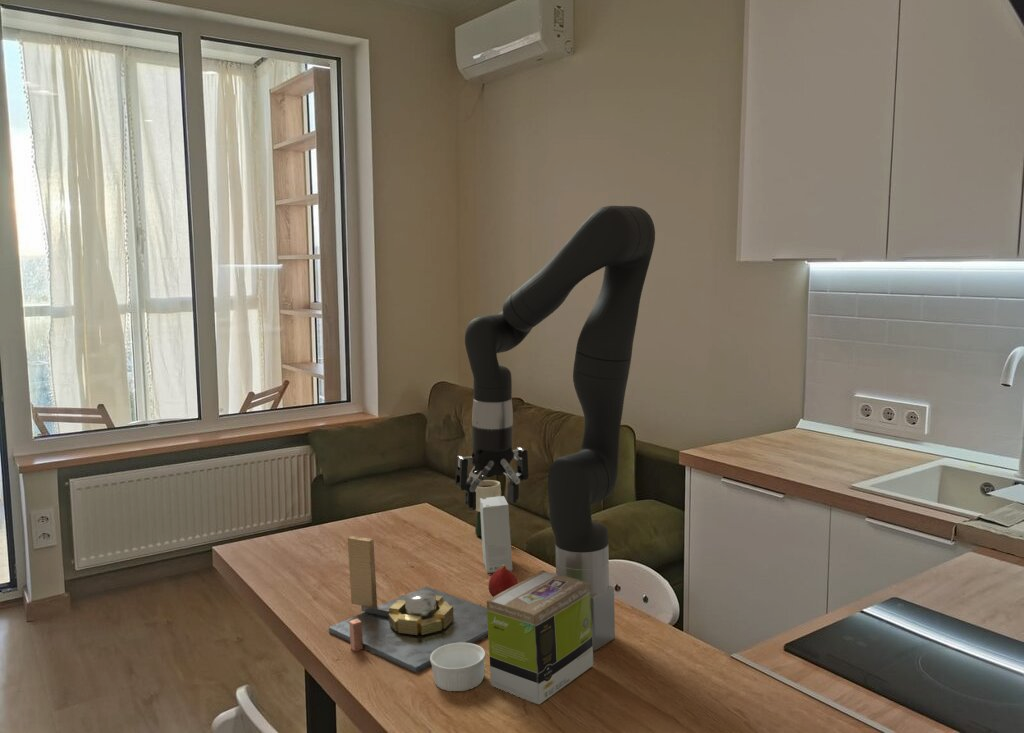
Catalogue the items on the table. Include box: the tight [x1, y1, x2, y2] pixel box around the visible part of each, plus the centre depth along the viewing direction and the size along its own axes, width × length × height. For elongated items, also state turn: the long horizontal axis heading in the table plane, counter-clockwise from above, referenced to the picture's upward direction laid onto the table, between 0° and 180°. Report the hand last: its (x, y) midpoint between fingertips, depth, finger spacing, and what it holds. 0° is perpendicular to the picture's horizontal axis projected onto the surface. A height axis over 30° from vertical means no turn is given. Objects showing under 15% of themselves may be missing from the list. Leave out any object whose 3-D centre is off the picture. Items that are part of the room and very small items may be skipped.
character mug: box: [474, 479, 502, 537], centre depth 198 cm, size 11×7×13 cm, turn 40°
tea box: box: [486, 570, 594, 705], centre depth 128 cm, size 15×10×15 cm, turn 141°
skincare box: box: [480, 495, 513, 574], centre depth 177 cm, size 8×6×15 cm
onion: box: [488, 565, 519, 598], centre depth 157 cm, size 6×6×8 cm
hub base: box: [328, 586, 488, 674], centre depth 147 cm, size 24×26×6 cm
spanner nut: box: [347, 535, 454, 635], centre depth 150 cm, size 21×12×14 cm, turn 48°
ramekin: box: [430, 642, 486, 693], centre depth 129 cm, size 9×9×4 cm
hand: (492, 505), depth 152 cm, fingers open, 8 cm apart
